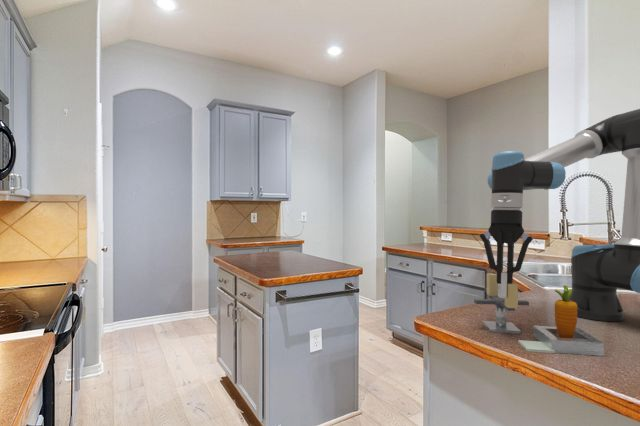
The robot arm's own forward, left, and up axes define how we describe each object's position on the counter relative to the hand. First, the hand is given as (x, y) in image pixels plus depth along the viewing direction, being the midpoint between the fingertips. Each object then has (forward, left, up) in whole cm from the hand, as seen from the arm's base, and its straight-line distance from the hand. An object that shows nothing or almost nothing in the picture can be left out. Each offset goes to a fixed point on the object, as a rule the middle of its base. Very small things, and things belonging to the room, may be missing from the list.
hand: (504, 296), depth 95 cm
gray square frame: (-13, +4, -11) cm, 17 cm away
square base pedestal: (-1, -7, -11) cm, 13 cm away
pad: (-5, +7, -11) cm, 14 cm away
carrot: (-13, +4, -11) cm, 18 cm away
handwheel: (-1, -7, -4) cm, 8 cm away
